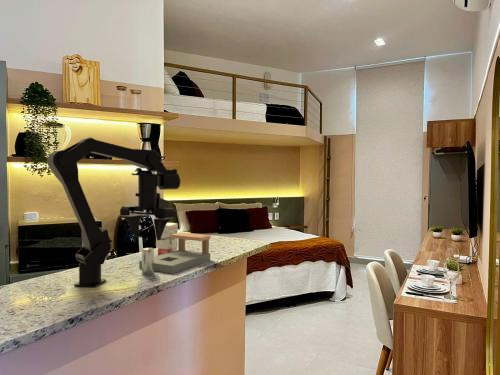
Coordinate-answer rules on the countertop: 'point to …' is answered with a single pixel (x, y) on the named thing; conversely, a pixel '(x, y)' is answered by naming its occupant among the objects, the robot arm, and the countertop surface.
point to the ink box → (168, 239)
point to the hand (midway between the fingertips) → (147, 238)
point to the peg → (147, 261)
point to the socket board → (182, 254)
